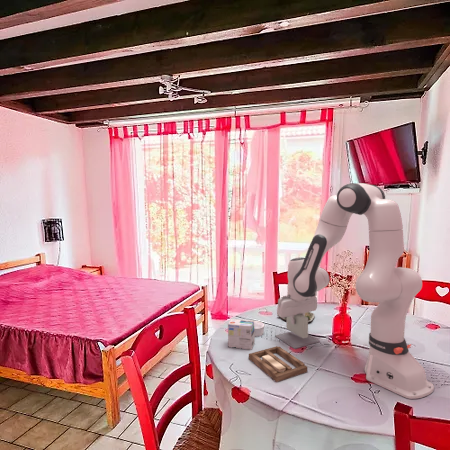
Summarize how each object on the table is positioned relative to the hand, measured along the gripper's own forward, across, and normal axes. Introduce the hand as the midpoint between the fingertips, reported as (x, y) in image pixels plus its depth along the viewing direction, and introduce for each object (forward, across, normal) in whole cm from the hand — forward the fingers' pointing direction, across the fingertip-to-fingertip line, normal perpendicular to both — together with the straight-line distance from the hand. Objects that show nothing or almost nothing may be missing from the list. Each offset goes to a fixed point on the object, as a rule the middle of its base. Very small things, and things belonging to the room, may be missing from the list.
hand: (297, 323), depth 152 cm
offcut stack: (+8, -24, -16) cm, 30 cm away
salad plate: (+8, +16, +20) cm, 27 cm away
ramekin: (+8, -13, +15) cm, 21 cm away
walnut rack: (+7, -22, -14) cm, 27 cm away
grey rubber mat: (+8, 0, 0) cm, 8 cm away
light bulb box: (+8, -25, +7) cm, 27 cm away
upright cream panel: (+5, 0, 0) cm, 5 cm away
